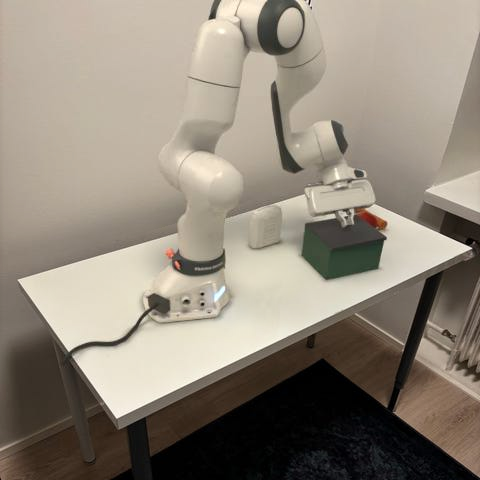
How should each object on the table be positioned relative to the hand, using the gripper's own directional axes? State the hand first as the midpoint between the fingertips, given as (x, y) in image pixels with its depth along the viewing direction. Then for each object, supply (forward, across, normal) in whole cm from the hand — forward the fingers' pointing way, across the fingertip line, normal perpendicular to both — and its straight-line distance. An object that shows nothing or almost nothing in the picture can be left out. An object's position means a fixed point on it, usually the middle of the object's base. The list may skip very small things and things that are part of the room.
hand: (348, 226), depth 140 cm
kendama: (-8, +24, +26) cm, 36 cm away
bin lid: (+1, 0, +3) cm, 3 cm away
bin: (+8, 0, +10) cm, 13 cm away
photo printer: (-5, -16, +23) cm, 28 cm away
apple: (-1, +16, +19) cm, 25 cm away
